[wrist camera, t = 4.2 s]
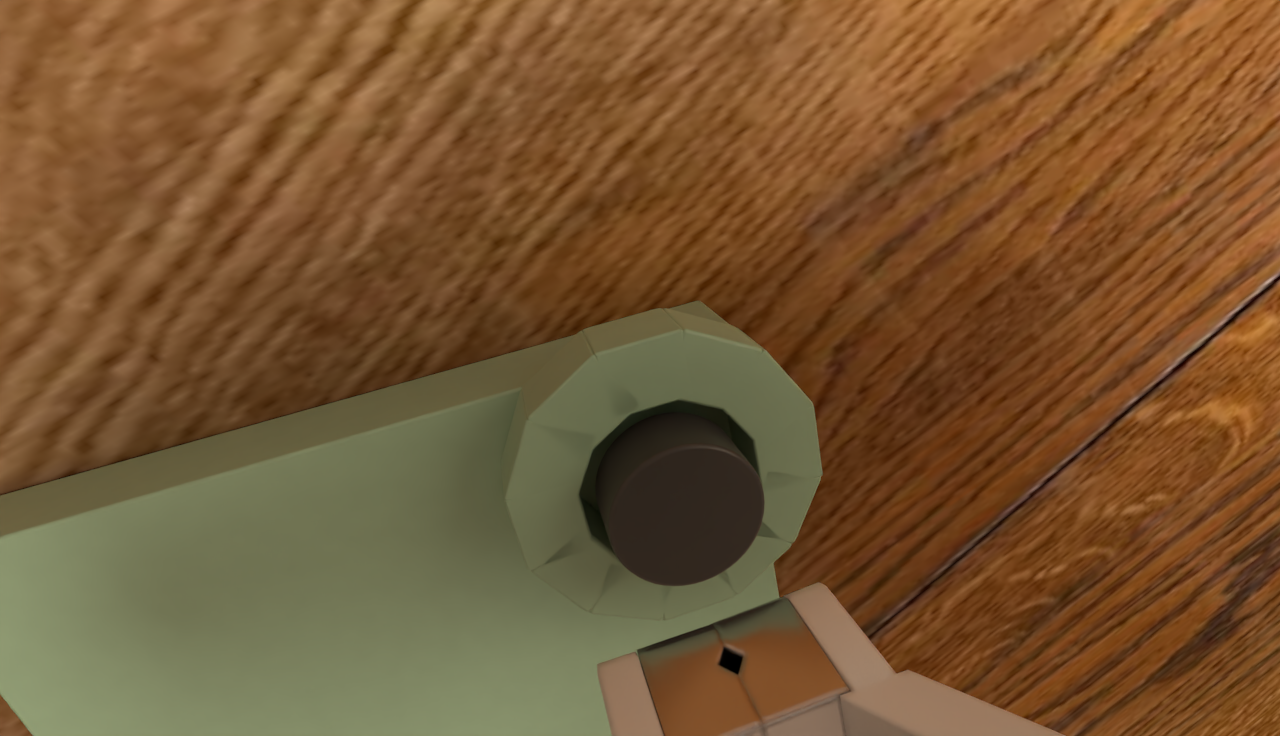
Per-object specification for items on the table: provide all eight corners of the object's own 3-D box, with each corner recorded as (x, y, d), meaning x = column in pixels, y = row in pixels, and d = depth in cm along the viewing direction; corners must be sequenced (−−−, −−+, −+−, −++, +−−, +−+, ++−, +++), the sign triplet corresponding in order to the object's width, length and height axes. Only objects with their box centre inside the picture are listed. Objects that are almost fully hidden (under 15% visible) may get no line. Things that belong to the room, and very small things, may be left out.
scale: (727, 255, 14) (801, 294, 11) (800, 694, 19) (866, 811, 16) (-39, 464, 12) (-221, 586, 9) (259, 894, 17) (210, 1072, 14)
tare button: (723, 391, 12) (754, 424, 10) (746, 515, 13) (776, 558, 11) (578, 435, 11) (590, 474, 10) (613, 559, 12) (628, 608, 11)
